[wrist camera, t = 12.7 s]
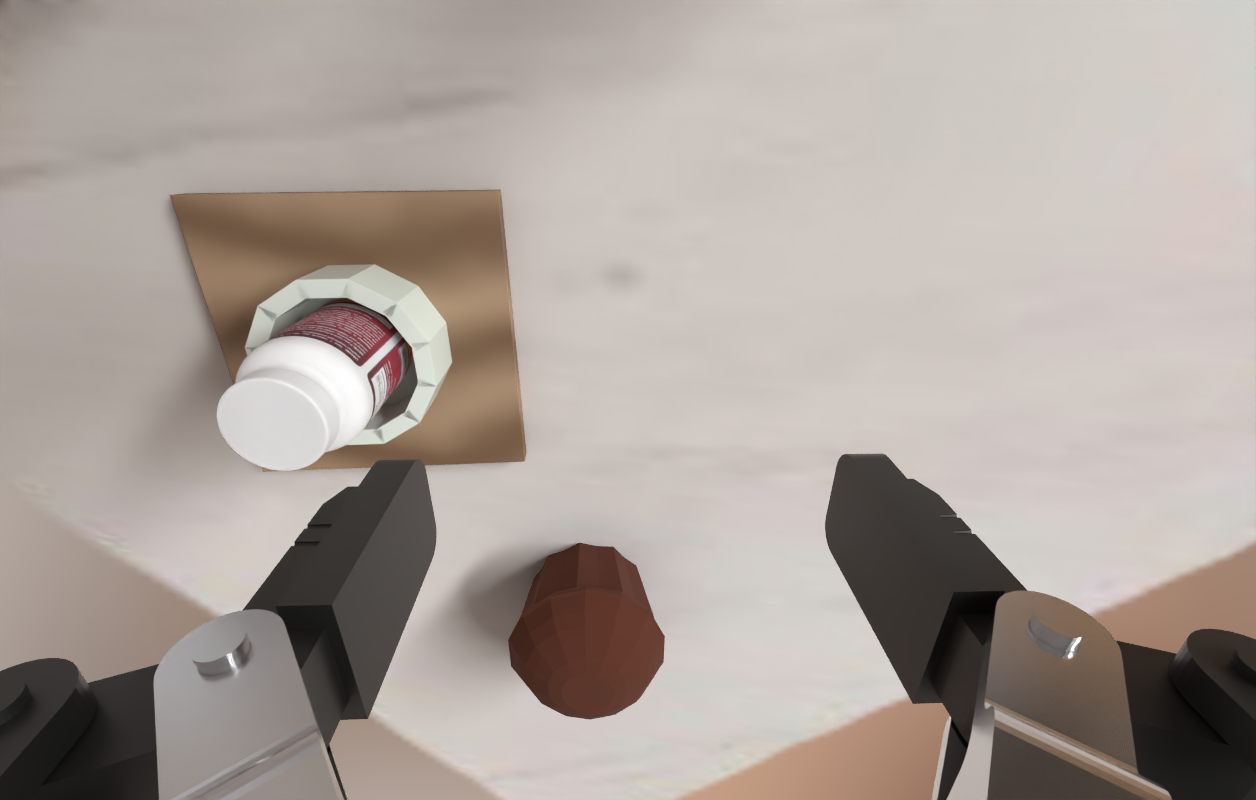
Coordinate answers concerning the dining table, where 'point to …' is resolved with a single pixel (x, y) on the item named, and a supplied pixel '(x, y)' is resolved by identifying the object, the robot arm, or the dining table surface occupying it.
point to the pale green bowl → (389, 299)
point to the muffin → (587, 634)
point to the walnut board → (404, 245)
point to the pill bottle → (313, 386)
